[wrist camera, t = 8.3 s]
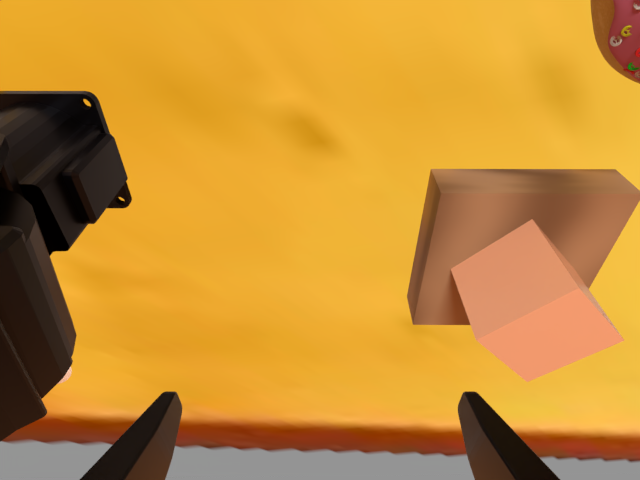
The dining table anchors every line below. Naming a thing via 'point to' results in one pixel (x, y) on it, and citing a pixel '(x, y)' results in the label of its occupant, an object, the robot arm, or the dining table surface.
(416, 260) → the base
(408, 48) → the dining table surface
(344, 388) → the dining table surface
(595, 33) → the cupcake
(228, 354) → the dining table surface
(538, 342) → the cube
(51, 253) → the robot arm
